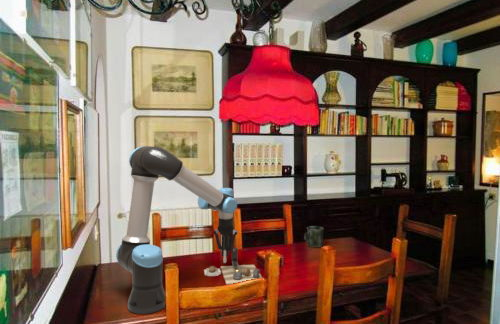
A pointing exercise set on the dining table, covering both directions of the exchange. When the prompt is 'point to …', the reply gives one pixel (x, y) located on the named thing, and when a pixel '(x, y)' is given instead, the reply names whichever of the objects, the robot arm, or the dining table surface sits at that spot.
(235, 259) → the lever
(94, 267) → the dining table surface
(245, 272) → the walnut
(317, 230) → the mug
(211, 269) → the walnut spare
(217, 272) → the dish
